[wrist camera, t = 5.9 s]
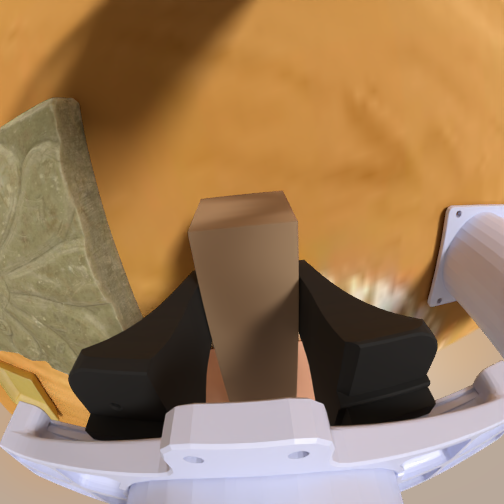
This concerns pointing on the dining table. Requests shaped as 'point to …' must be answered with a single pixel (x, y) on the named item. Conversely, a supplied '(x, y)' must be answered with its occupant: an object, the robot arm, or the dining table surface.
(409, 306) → the dining table surface
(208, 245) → the walnut stick
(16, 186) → the decorative tile
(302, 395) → the glazed tile
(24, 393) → the saucer
